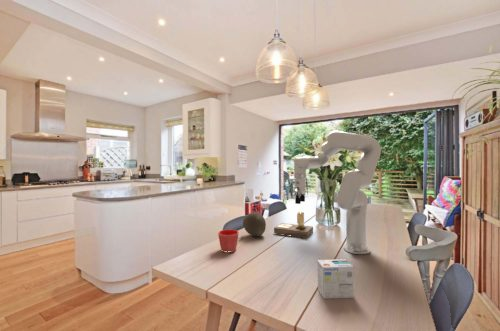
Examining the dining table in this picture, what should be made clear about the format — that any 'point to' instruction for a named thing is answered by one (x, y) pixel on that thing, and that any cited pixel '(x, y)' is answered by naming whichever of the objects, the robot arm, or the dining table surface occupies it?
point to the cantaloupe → (254, 224)
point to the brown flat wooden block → (293, 230)
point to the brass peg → (300, 220)
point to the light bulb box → (335, 278)
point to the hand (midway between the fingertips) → (300, 202)
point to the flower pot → (228, 239)
